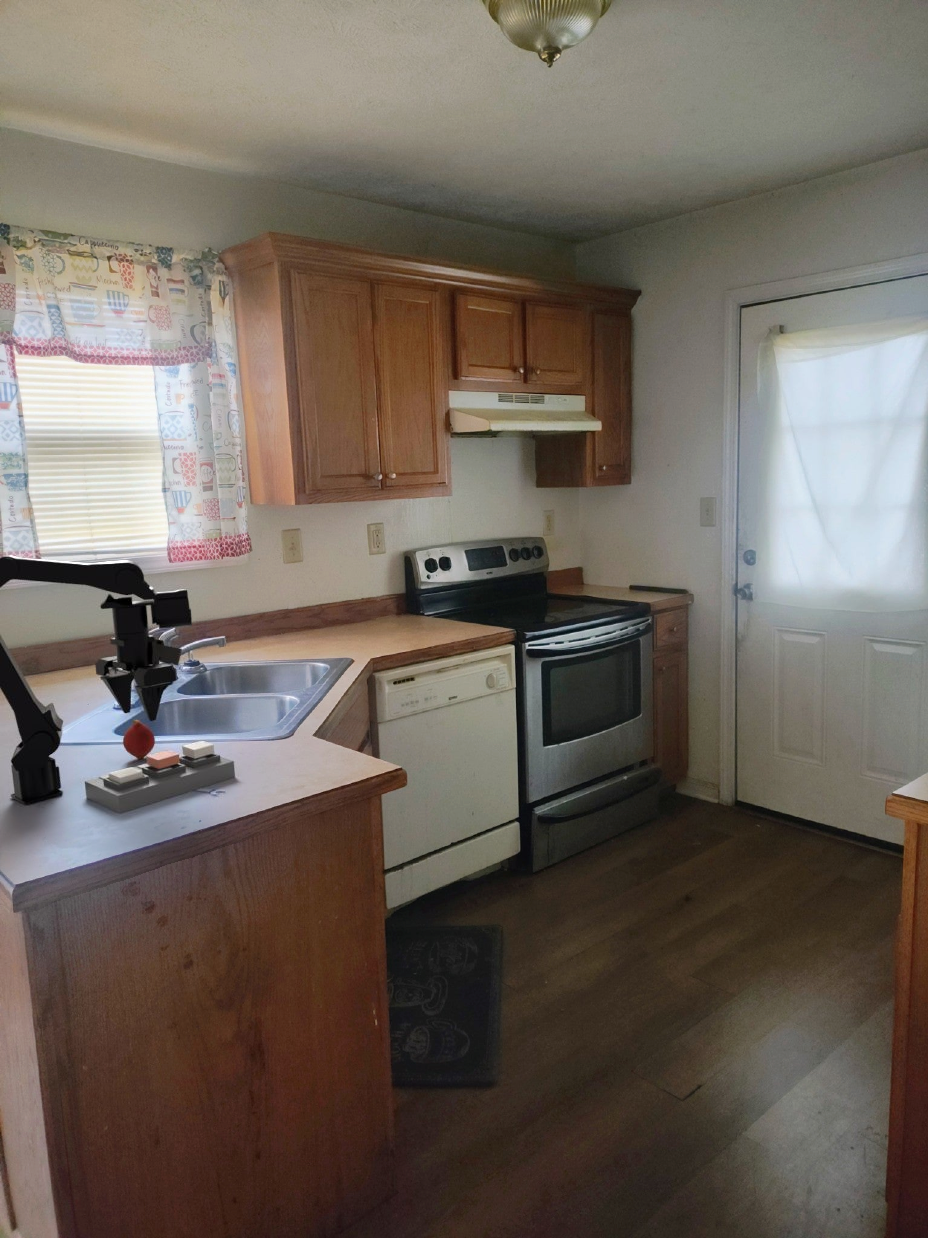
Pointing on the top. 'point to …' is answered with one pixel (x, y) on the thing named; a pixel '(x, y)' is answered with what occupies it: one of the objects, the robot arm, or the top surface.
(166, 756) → the button middle
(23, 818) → the top surface
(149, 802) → the button panel
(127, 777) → the button left
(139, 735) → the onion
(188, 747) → the button right
